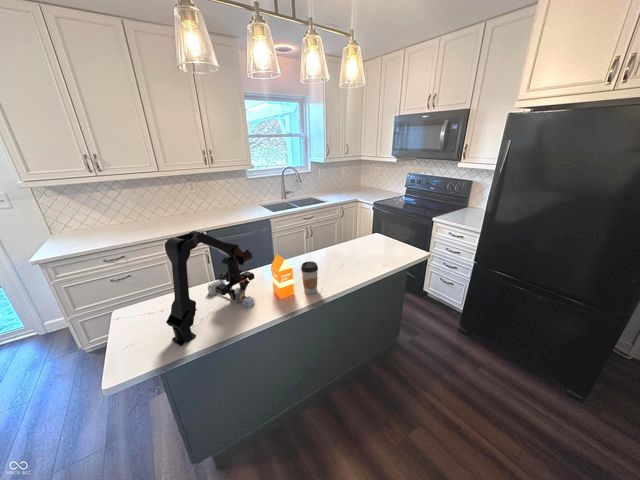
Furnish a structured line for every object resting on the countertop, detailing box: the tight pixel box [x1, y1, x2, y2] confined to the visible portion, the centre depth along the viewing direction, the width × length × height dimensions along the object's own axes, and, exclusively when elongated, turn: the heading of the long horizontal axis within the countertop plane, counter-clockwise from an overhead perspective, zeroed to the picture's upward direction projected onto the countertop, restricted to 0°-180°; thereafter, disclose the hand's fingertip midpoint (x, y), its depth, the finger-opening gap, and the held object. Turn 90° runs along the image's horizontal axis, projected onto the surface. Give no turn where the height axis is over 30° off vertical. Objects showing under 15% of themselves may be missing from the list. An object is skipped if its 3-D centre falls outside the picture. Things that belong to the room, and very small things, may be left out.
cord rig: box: [207, 279, 255, 309], centre depth 127 cm, size 28×8×5 cm, turn 56°
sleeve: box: [229, 287, 246, 304], centre depth 124 cm, size 5×5×4 cm
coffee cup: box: [300, 261, 319, 295], centre depth 128 cm, size 8×8×15 cm
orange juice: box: [270, 254, 295, 300], centre depth 127 cm, size 8×9×20 cm
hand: (238, 297), depth 125 cm, fingers closed on sleeve, 5 cm apart
